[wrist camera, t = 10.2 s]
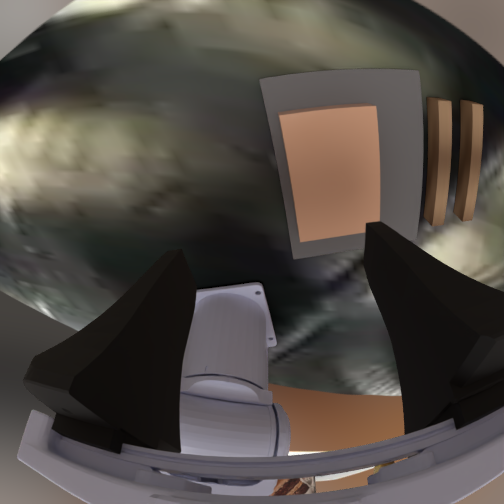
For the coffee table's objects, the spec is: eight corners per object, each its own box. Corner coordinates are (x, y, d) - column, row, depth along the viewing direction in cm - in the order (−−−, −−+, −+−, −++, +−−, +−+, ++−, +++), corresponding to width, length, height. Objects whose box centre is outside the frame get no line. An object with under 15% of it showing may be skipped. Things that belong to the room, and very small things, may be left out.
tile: (379, 230, 19) (300, 242, 20) (372, 220, 20) (297, 231, 21) (376, 106, 14) (279, 115, 15) (367, 103, 15) (277, 112, 16)
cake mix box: (312, 468, 88) (314, 527, 64) (314, 470, 92) (316, 526, 67) (263, 472, 93) (261, 529, 69) (266, 474, 96) (265, 528, 72)
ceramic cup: (366, 458, 82) (368, 478, 74) (384, 451, 77) (387, 472, 69) (385, 455, 85) (388, 474, 77) (402, 448, 80) (406, 468, 72)
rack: (462, 211, 19) (472, 220, 18) (423, 216, 20) (432, 226, 19) (470, 101, 14) (482, 104, 12) (426, 97, 14) (438, 100, 13)
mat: (414, 237, 21) (416, 239, 21) (292, 256, 23) (293, 259, 23) (416, 70, 13) (418, 70, 13) (259, 78, 15) (259, 79, 15)
